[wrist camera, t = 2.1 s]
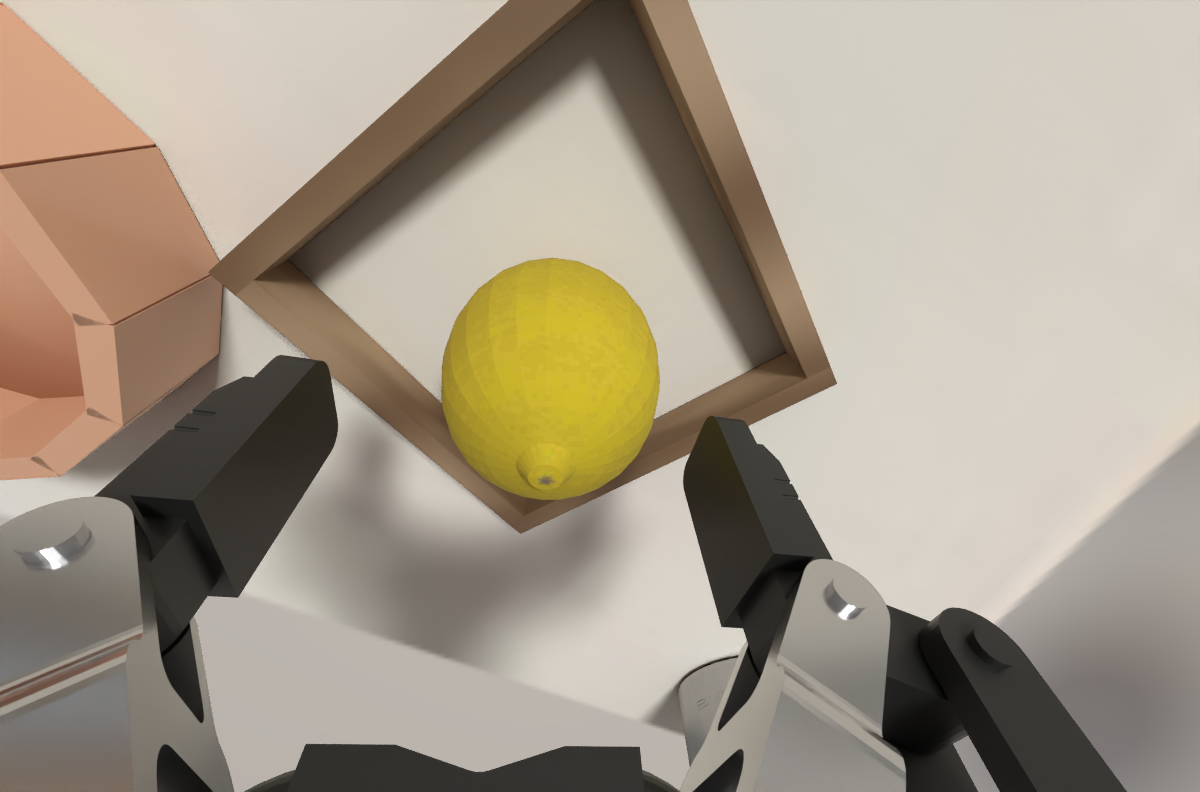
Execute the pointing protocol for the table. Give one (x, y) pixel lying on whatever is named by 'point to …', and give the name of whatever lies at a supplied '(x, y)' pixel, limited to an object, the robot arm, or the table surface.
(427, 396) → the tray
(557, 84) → the table surface
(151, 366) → the bowl
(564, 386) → the lemon
